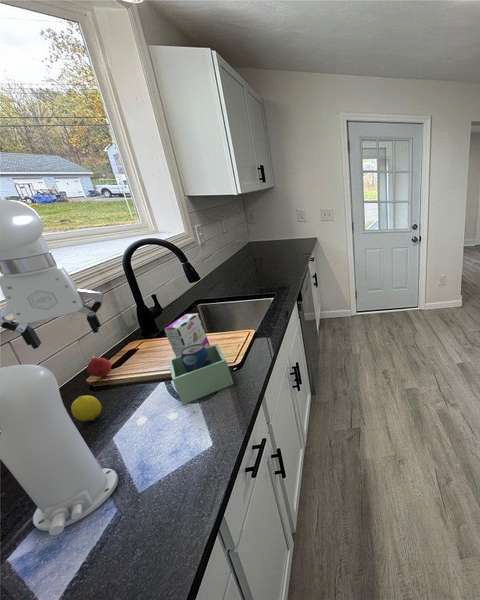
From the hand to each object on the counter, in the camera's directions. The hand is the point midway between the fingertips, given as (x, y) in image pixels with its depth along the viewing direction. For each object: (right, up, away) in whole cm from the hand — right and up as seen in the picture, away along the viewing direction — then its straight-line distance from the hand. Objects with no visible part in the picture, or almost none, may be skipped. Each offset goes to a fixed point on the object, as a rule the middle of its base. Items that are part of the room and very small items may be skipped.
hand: (68, 338), depth 70 cm
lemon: (-10, -25, +16) cm, 32 cm away
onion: (-26, -18, +36) cm, 48 cm away
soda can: (+13, -17, +28) cm, 36 cm away
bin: (+13, -18, +29) cm, 36 cm away
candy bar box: (+2, -14, +41) cm, 43 cm away
